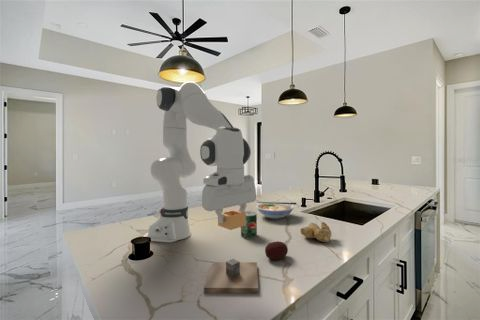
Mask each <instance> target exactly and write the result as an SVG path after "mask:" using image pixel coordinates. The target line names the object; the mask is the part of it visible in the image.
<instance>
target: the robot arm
mask: <svg viewBox="0 0 480 320" xmlns="http://www.w3.org/2000/svg"><path fill="white" fill-rule="evenodd" d="M155 98H156V104H157V107H158V108H159V110H162V111H164V114H163V120H162V121H163V124H162V144H163V146H164V147H165V148H166V149H167V150H168V152H169V154H170V156H168V157H160V158H158V159H156V160H154V161H153V162H151V165H150V175H151V176H152V177H153V179H154V180H156V181H157V182H158V184H159V185H160V188H161V190H162V194H163V206H162V208H160V210H159V216H158V217H157V218H156V219H154V220H153V221H152V222H151V223H150V225H149V226H148V232H146V233H145V234H144V235H143V237H150V238H151V241H150V242H159V243H168V244H169V243H174V242H176V241H177V242H178V241H180V240H184V239H187V238H189V237H191V236H192V232H191V229H190V224H189V223H190V222H189V206H188V192H187V190H186V189H185V188H184V187H183V186H182V184H181V181H180V179H186V178H188V177H190V176H192V175H193V174H195V172H196V169H197V165H196V162H195V160H194V159H192V156H191V155H190V152H189V149H188V141H187V132H188V131H187V127H188V126H187V120H188V121H190V122H191V123H193V124H195V125H198V126H203V127H206V128H210V129H212V130H215V131H216V133H215V134H214V135H213V136H212V137H211V138H208V139H205V140H204V141H203V142H202V144H201V145H200V150H199V152H200V153H199V155H200V158H201V161H202V162H203V163H204V164H205V165H207V166H211V167H216V171H214V172H213V173H211V174H209V175H207V176H205V177H204V178H203V180H202V181H203V184H204V187H203V188H202V193H201V195H202V196H201V206H202V208H203V210H204V211H207V212H214V211H215V214H216V215H217V218H218V217H219V222H220V223H223V222H226V220H225V219H226V217H225V216H223V215H222V213H221V212H224V209H227V208H231V207H237V206H239V210H238V211H240V212H246V208H247V204H250V203H253V202H255V201H256V199H257V192H256V185H255V178H254V177H253V176H252V175H251V174H248V175H245V164H246V163H247V162H248V160H249V159H250V157H251V152H252V151H251V147H250V144H249V143H248V141H247V140H246V138H244V137H243V133H242V131H241V129H239V128H238V127H234V126H233V124H232V123H231V122H230V120H228V118H227V117H226V116H225V114H224V113H223V112H221V111H220V110H219V109H218V108H216V106H214V105H213V104H212V103H211V101H210V100H209V98H208V97H207V94H206V93H205V91H204V90H203V89H202V88H201V87H200V86H199V84H198V83H196V82H194V81H186V82H184V83H183V84H182V85H181V86H180V87H171V86H162V87H160V88H159V89H158V90H157V93H156V97H155Z"/></svg>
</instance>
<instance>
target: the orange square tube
mask: <svg viewBox="0 0 480 320" xmlns="http://www.w3.org/2000/svg"><path fill="white" fill-rule="evenodd" d="M244 212H245V211H244ZM244 212H240V211H239V210H235V209H230V210H227V211H226V210H225V211H223V212H221V213H222V215H223V216H225V217H226V219H225V220H226V222H223V223H220V222H219V217H218V216H217V226H218V227H220V228H224V229H227V230H229V231H232V230H236V229H238V228H241V227H242V226H245V225H246V213H244Z"/></svg>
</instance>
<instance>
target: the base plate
mask: <svg viewBox="0 0 480 320" xmlns="http://www.w3.org/2000/svg"><path fill="white" fill-rule="evenodd" d="M258 278H259V276H258V262H251V261H250V262H249V261H247V262H246V261H245V262H244V261H243V262H241V261H239V260H237V259H234V258H232V259H229V260H227V261H212V263H211V266H210V268H209V272H208V275H207V277H206V280H205V284H204V286H203V292H204V293H210V294H211V293H212V294H217V293H219V294H259V279H258Z"/></svg>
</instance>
